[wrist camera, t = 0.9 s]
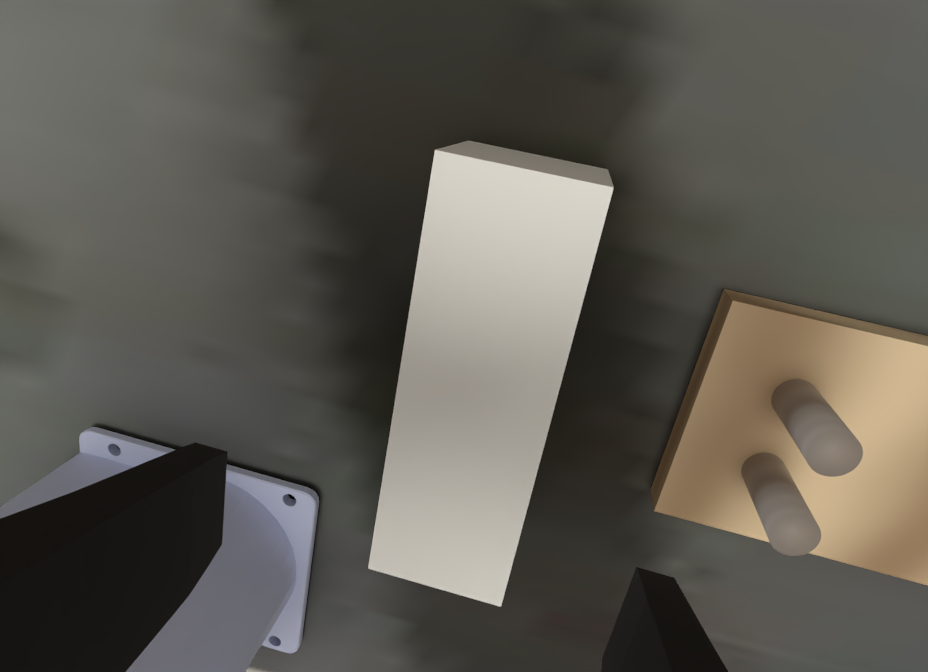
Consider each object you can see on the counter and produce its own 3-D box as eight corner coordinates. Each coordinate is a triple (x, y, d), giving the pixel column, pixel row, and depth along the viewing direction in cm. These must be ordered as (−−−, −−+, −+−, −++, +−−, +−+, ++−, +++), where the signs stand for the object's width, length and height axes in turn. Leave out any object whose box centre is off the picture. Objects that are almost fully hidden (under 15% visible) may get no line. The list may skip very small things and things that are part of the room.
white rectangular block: (517, 512, 22) (501, 606, 18) (408, 483, 22) (368, 568, 18) (607, 168, 18) (614, 187, 13) (470, 140, 18) (435, 149, 14)
